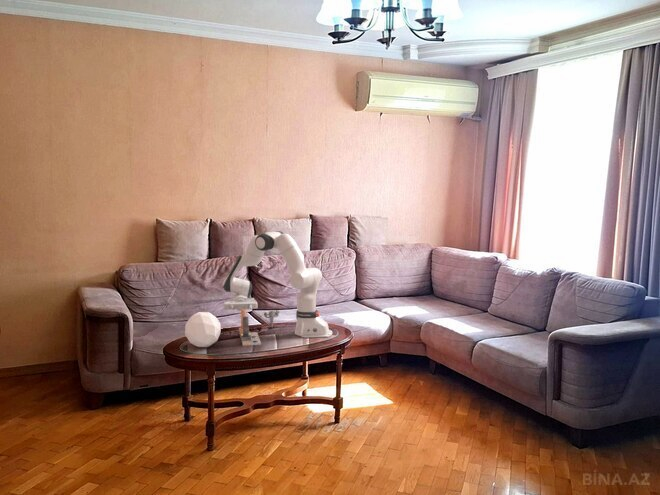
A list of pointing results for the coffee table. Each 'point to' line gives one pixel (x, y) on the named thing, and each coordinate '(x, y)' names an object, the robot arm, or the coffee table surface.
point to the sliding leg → (243, 313)
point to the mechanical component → (271, 316)
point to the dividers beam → (245, 332)
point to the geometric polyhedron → (202, 329)
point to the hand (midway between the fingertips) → (241, 308)
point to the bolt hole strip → (254, 339)
